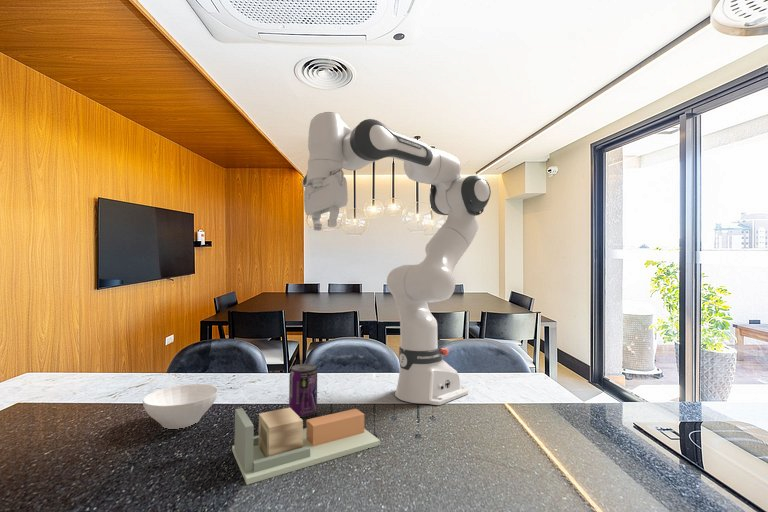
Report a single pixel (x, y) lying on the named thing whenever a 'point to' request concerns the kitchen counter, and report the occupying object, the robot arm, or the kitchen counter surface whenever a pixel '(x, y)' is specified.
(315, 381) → the beverage can
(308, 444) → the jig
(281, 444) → the block
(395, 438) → the kitchen counter surface
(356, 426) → the rectangular bar
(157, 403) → the bowl
